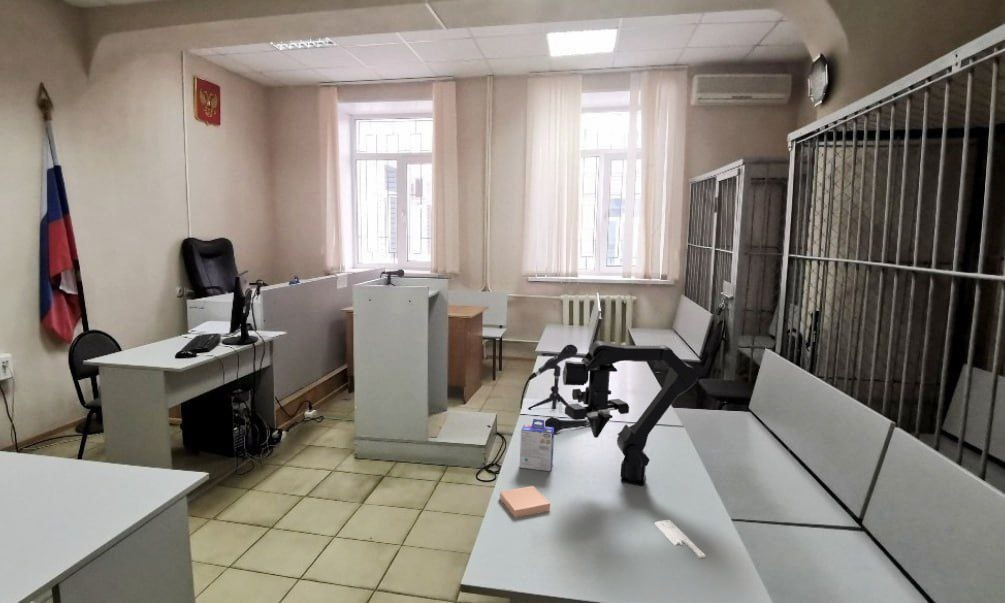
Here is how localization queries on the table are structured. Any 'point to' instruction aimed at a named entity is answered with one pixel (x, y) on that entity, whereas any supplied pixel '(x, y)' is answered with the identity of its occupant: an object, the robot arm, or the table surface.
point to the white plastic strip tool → (677, 536)
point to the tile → (524, 501)
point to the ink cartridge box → (537, 446)
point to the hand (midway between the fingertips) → (595, 437)
